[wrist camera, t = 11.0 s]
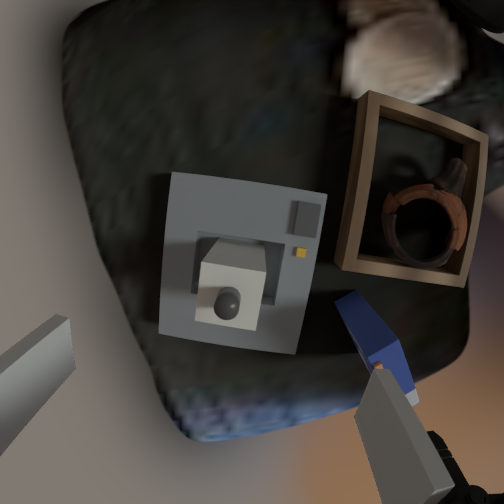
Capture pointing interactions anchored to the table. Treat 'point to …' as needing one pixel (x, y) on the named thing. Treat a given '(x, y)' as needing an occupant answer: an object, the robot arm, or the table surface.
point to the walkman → (376, 341)
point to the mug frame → (360, 180)
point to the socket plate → (245, 229)
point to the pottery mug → (446, 197)
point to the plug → (231, 284)
